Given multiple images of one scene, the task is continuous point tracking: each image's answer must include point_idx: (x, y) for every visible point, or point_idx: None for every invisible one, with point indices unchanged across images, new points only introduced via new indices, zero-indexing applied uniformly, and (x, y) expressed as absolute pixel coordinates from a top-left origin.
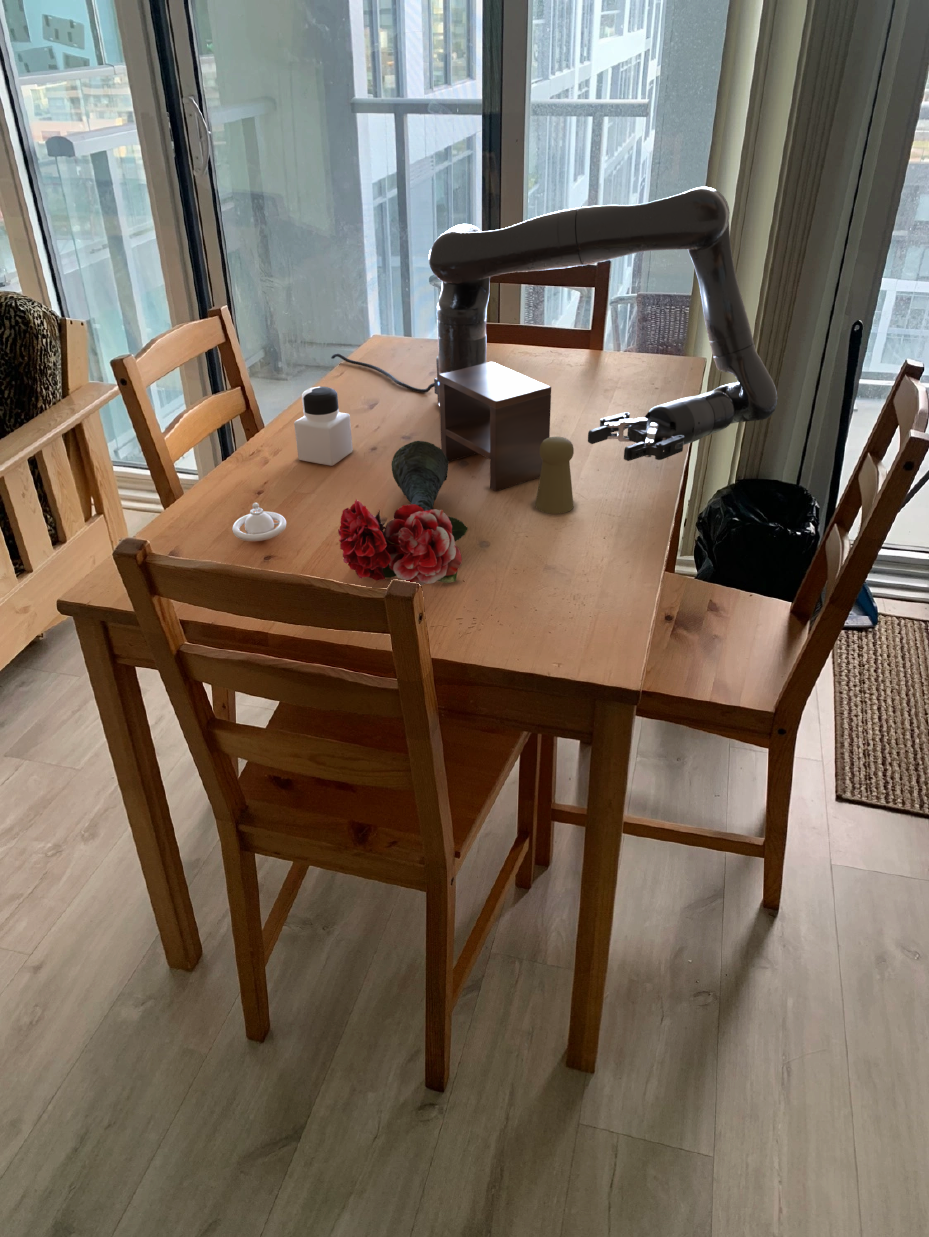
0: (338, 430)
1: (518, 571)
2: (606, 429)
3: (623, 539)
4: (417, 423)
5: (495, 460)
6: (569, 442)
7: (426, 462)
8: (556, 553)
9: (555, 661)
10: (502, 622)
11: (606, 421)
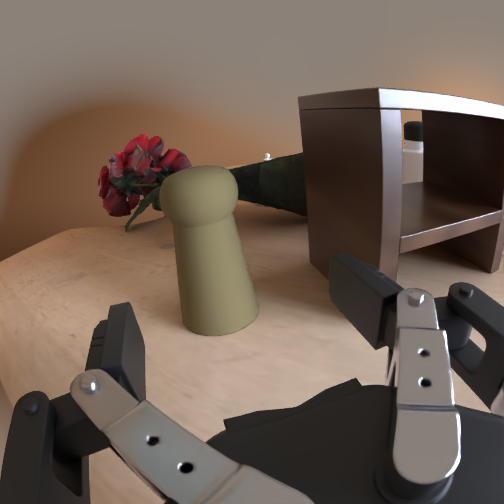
0: (412, 160)
1: (99, 259)
2: (374, 302)
3: (48, 353)
4: None
5: (307, 206)
6: (173, 179)
7: (273, 161)
8: (94, 286)
9: (9, 261)
10: (59, 247)
11: (453, 301)
